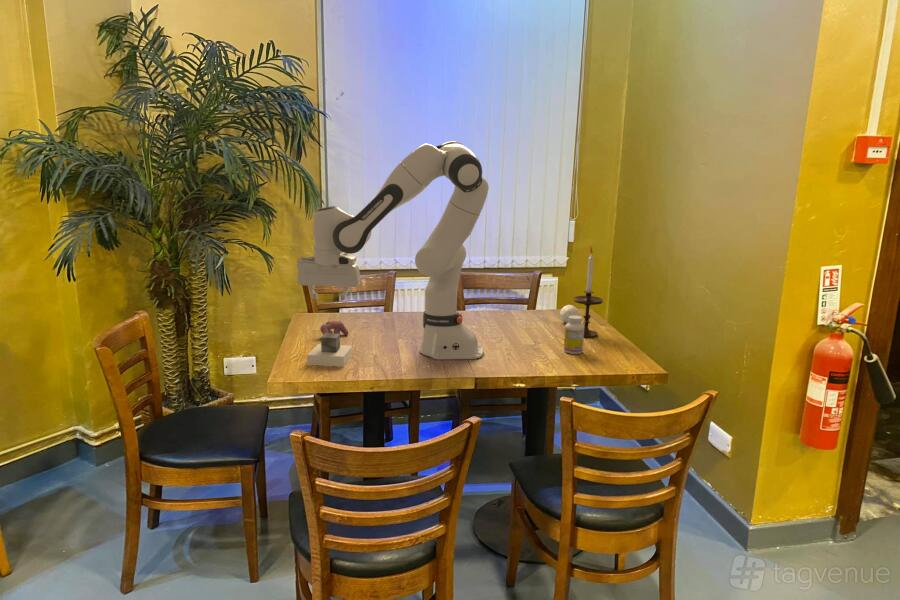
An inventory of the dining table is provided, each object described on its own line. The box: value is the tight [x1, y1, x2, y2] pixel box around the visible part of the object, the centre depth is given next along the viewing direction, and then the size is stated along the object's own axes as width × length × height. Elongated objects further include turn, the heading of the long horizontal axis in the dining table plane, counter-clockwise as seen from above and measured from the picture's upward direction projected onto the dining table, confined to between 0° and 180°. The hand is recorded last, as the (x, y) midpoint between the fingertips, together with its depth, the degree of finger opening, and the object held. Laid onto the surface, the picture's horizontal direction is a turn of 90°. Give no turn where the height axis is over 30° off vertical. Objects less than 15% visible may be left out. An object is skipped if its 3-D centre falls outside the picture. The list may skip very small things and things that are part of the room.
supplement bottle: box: [563, 315, 585, 355], centre depth 225 cm, size 7×7×13 cm
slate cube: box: [320, 332, 341, 353], centre depth 211 cm, size 5×5×5 cm
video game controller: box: [319, 320, 349, 337], centre depth 239 cm, size 10×5×7 cm, turn 136°
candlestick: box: [573, 246, 603, 339], centre depth 244 cm, size 11×11×35 cm
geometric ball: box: [559, 304, 580, 324], centre depth 264 cm, size 8×8×8 cm
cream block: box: [306, 343, 354, 368], centre depth 212 cm, size 12×12×4 cm
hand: (329, 299), depth 208 cm, fingers open, 8 cm apart
